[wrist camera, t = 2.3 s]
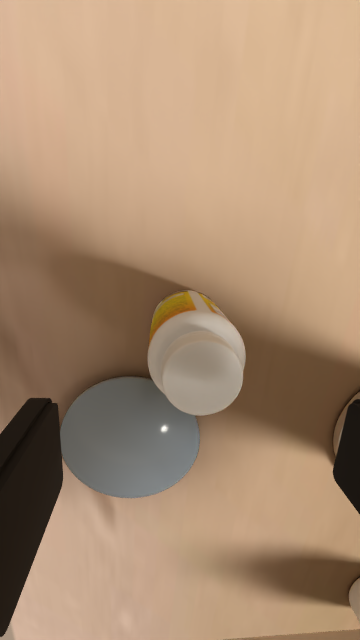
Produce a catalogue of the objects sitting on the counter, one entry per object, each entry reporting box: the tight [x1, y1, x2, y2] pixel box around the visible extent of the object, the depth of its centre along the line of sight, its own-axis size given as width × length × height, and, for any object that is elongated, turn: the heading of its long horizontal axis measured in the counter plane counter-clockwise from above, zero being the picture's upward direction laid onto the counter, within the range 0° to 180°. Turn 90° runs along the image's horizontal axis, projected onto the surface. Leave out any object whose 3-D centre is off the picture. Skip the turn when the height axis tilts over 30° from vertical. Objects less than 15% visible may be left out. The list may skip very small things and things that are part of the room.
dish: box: [60, 376, 200, 498], centre depth 25 cm, size 12×12×1 cm
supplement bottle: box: [148, 290, 246, 416], centre depth 18 cm, size 6×6×10 cm
